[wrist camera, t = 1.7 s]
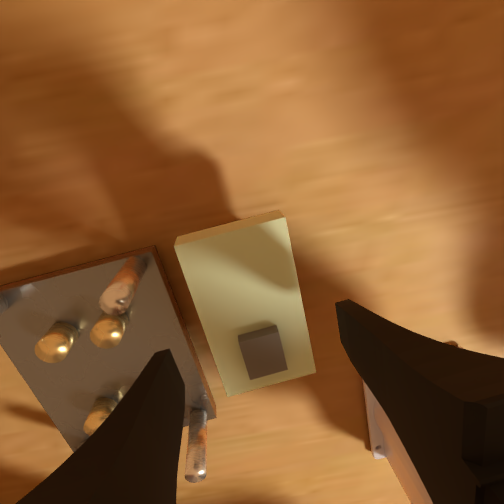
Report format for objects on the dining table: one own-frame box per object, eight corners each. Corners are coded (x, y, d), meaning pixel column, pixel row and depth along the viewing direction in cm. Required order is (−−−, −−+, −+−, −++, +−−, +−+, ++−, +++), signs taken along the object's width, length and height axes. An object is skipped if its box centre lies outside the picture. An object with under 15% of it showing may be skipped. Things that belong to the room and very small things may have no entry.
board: (308, 355, 18) (319, 380, 16) (226, 378, 18) (228, 406, 16) (278, 209, 15) (288, 220, 13) (177, 236, 14) (171, 251, 13)
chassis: (216, 406, 22) (216, 476, 18) (82, 443, 22) (47, 524, 17) (154, 245, 18) (133, 284, 13) (-18, 290, 17) (-102, 347, 13)
